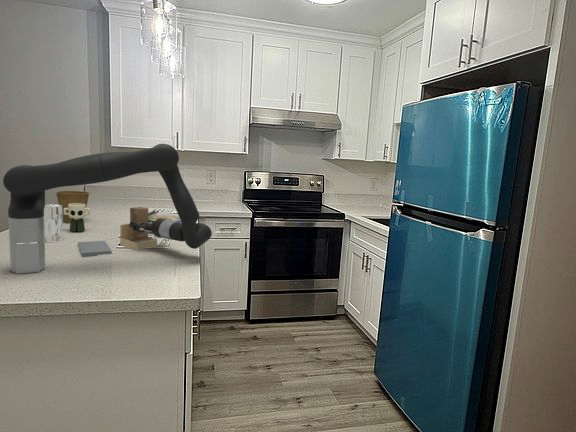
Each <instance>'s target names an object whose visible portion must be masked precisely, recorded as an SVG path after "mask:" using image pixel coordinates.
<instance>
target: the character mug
mask: <svg viewBox="0 0 576 432" xmlns="http://www.w3.org/2000/svg"><path fill="white" fill-rule="evenodd" d="M66 210H68V213H66ZM86 211H87V212H86ZM64 215H68V216H69V218H72V219H71V223H69V224H70V225H69V231H70V232H76V231H77V232H84V231H85V230H86V228H85V222H84V218H86V215H87V216H90V215H91V207H90V208H89V207H87V206H86V205H85V204H81V203H73V204H68V208H64ZM82 218H83V219H82Z"/></svg>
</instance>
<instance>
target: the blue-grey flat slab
mask: <svg viewBox="0 0 576 432" xmlns="http://www.w3.org/2000/svg"><path fill="white" fill-rule="evenodd" d="M77 246H78V249H79V252H80V255H81V257H82V258H83V257H84V258H86V257H87V258H88V257H98V256H101V255H112V254H113V251H112V249H111V247H110V246H109V245H108V243H107V241H106V240H91V241H78V242H77Z"/></svg>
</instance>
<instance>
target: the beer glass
mask: <svg viewBox="0 0 576 432" xmlns="http://www.w3.org/2000/svg"><path fill="white" fill-rule="evenodd" d="M63 221H64V219H63V211H62V205H59V204H58V203H57V204H56V203H55V204H52V203H51V204H50V203H49V204H45V207H44V230H45V242H47V243H58V242H62V240H63V238H62V237H63V236H62V226H63Z"/></svg>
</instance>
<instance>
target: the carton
mask: <svg viewBox="0 0 576 432" xmlns="http://www.w3.org/2000/svg"><path fill="white" fill-rule="evenodd" d="M119 241H120V244H119V245H120V247H124V248H128V249H132V250H136V251H138V250H143V249H144V250H145V249H148V248H152V247H153V248H154V247H157V246H158V238H153V237H150V236H148V241H143V242H138V243H137V242H133V241H130V223H124V224H120V239H119Z"/></svg>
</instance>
